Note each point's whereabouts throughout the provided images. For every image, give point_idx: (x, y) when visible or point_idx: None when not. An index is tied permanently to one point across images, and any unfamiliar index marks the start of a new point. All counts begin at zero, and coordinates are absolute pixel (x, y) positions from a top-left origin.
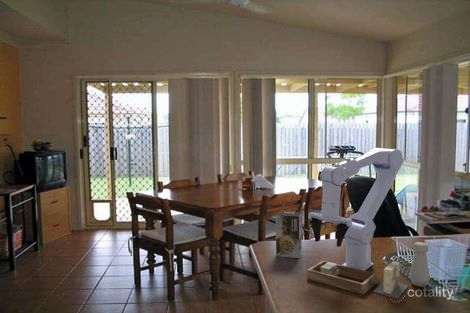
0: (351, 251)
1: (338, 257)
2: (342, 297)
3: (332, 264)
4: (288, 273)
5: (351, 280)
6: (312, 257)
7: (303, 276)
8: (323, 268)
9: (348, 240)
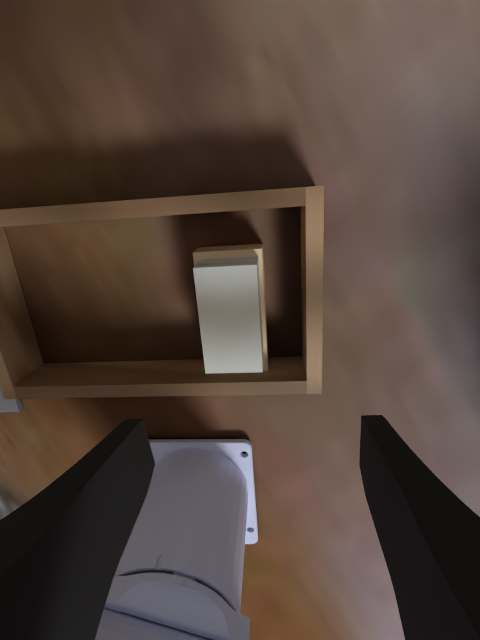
0: (178, 521)
1: (322, 531)
2: (26, 92)
3: (221, 350)
4: (461, 178)
5: (20, 223)
6: (437, 470)
7: (353, 203)
8: (236, 264)
9: (200, 604)
